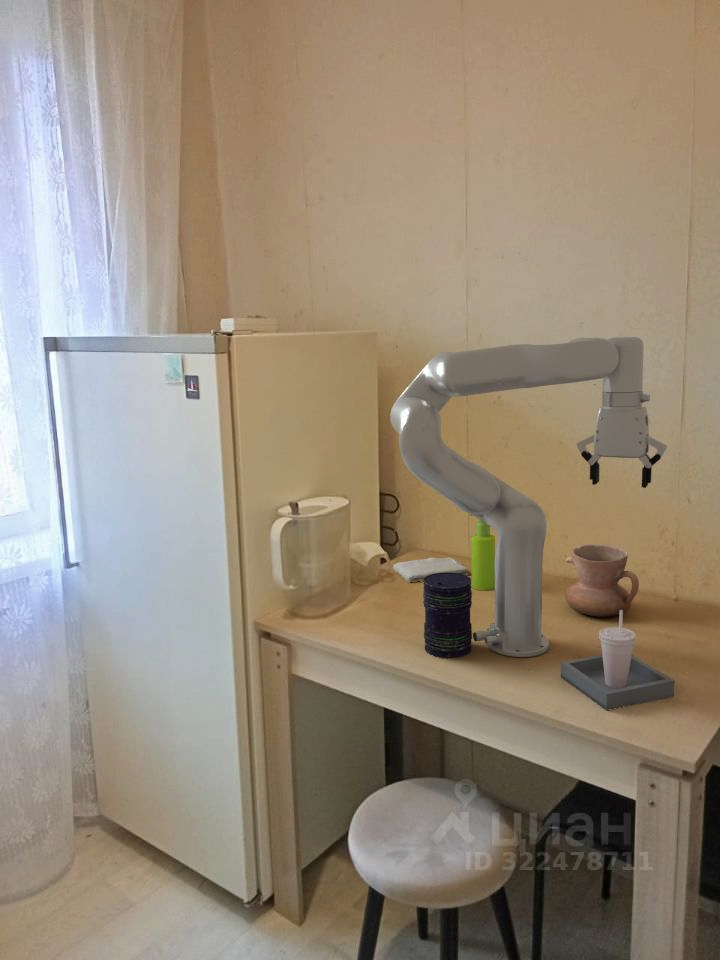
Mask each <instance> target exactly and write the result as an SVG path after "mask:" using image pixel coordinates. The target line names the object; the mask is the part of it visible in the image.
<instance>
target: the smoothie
mask: <svg viewBox="0 0 720 960" xmlns="http://www.w3.org/2000/svg"><path fill="white" fill-rule="evenodd" d="M618 615H619V621H618V626H607V627H604V628H601V629H600V630H599V631H598V633H599V635H598V639H599V640H600V645H601V655H602V656H603V665H604V674H605V683H606V684H607V685H608V686H610V687H614V688H622V687H625V686H626V685H627V679H628V674H629V668H630V662H631V656H632V655H633V651H634V643H636V641H637V635H636V633H635V632H634V631H633V630H631V629H628V628H626V627H623V617H624V612H623V610H620V614H618Z"/></svg>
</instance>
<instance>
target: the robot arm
mask: <svg viewBox="0 0 720 960" xmlns="http://www.w3.org/2000/svg"><path fill="white" fill-rule="evenodd" d="M643 372H644V342H643V340H642V339H641V338H640V337H636V336H620V337H618V336H617V337H610V338H607V339H605V338H600V337H578V338H574V339H572V340H569V341H567V342H566V343H565V342H564V343H556V344H528V343H527V344H526V343H522V344H518V343H517V344H509V345H508V344H507V345H503V346H496V347H487V348H480V349H473V350H472V349H471V350H464V351H445V352H444V351H443V352H440V353H438V354H436V355H435V356H434V357H432V358H431V359H430V360H429V361H428V362H427V364H426V365H425V366H424V367H423V368H422V370H421V371H420V372H419V373H418V374H417V375H416V377H415V378H414V379H413V380H412V381H411V383H409V385H408V386H407V387H406V388H405V389H404V391H403V392H402V393H401V394H400V396H399V397H398V398H397V399H396V401H395V402H394V403H393V406H392V407H391V410H390V414H389V415H390V417H389V419H390V424H391V426H392V428H393V430H394V431H395V432H396V433H397V434H398V445H399V446H398V447H399V451H400V456H401V458H402V460H403V464H404V465H405V466H406V468H407V470H408V471H409V472H410V473H411V474H412V475H413V476H414V477H415V478H417V479H418V480H419V481H421V482H422V483H424V485H426V486H428V487H429V488H431V489H432V490H433V491H435V492H436V493H438V494H440V495H441V496H442V497H444V498H446V499H447V500H449V502H451V503H452V504H453V505H454V506H455V507H457V508H458V509H460V510H461V511H463V512H465V513H466V514H468V513H470V514H472V515H473V516H472V517H475V518H476V519H478V520H479V521H480V520H481V521H483V522H484V523H486V524H487V525H489V526H490V528H492V529H493V531H495V533H497V539H496V541H497V542H496V545H495V588H494V622H492V623H491V622H490V625H489V628H486V630H480V631H474V632H472V639H473V641H474V642H482V641H484V643H485V644H486V645H487V646H488V647H489V649H490V650H492V651H493V652H495V653H497V654H499V655H503V656H506V657H514V658H530V657H536V656H539V655H543V654H544V653H546V652H547V651H548V650H549V648H550V640H549V638H548V637H547V636H546V635H544V634H543V633H542V631H543V630H542V623H543V619H542V618H543V559H544V548H545V541H546V537H547V536H546V535H547V528H548V527H547V526H548V525H547V518H546V515H545V513H544V510H543V509H542V507H541V506H540V505H539V504H538V503H537V501H535V500H534V499H532V498H531V497H529V496H528V495H526V494H524V493H521V491H519V490H518V489H516V488H514V487H512V486H511V485H510V484H508V483H506V482H504V481H503V480H502V479H500V478H499V477H497V476H495V474H492V473H491V472H490V471H488V470H487V469H486V468H484V467H482V466H481V465H480V464H478V463H476V462H474V461H469V460H468V459H467V458H465V457H463V456H462V455H460V454H459V453H457V452H456V451H455V450H453V449H452V448H451V447H449V446H447V445H446V444H445V442H444V441H443V440H444V439H443V438H442V432H441V431H442V418H441V415H440V412H441V410H442V409H444V407H445V406H446V405H447V403H448V402H450V400H451V399H452V397H453V398H454V397H455V398H459V397H468V396H476V395H482V394H489V393H494V392H503V391H511V390H512V391H513V390H519V389H520V390H521V389H532V388H538V387H544V386H553V385H554V386H556V385H567V384H574V383H579V382H588V381H594V380H595V381H596V380H601V379H602V383H601V384H602V386H601V387H602V389H601V390H602V392H601V393H602V394H601V397H602V398H601V406H599V407H598V410H597V415H596V420H595V426H594V434H593V435H591V436H589V437H587V438H585V439H583V440H580V441H578V442H577V443H576V447H577V449H578V452H580V455H581V457H582V458H583V459H584V460H585V461H586V463H587V464H588V465H589V480H591V481H592V482H591V483H592V485H593V486H595V485H597V484H598V483H600V463H599V462H598V461H599V460H600V459H601V458H602V457H603V458H617V459H618V458H621V459H622V458H623V459H638V460H639V461H640V462H641V463H642V465H643V467H642V468H641V488H642V489H646V488H647V487H649V486H648V485H649V484H651V483H652V468H653V466H654V465H656V463H658V462H659V461H660V460H661V459H662V457H663V456H664V454H665V452H666V450H667V449H668V446H667V444H665V443H663V442H661V441H660V440H658V439H656V438H654V437H653V436H652V437H651V436H650V428H649V416H648V410H647V406H643V404H644V403H646V402H650V401H651V395H650V394H646V393H645V392H644V390H643V382H644V381H643V378H644V377H643V376H644V373H643ZM592 443H593V452H594V454H592V453H591V452H590V451H588V449H587V446H588V445H590V444H592ZM650 446H651V447H653V448H655V449H656V450H657V451H656V452H655V454H654V456H652V457H651V456H649V454H648V453H649V449H650Z"/></svg>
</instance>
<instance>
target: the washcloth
mask: <svg viewBox="0 0 720 960" xmlns="http://www.w3.org/2000/svg"><path fill="white" fill-rule="evenodd" d="M392 569H393V571H394V573H396V572H397V573H398V574H397V573H396V574H397V575H399V574H400V575H399V576H401V578H402V579H403V578H404V579H403V580H404V581H406V583H409V582H413V583H418V582H417V581H421V582H424V578H425V577H426V576H428V575H431V574H435V573H446V572H448V573H459V574H463V575H467V576H468V567H466V566H464V565H462V564H461V563H460V562H459V561H458V560H456V559H454V558H452V557H443V558H442V557H441V558H440V557H439V558H438V557H437V558H436V557H429V558H424V559H413V560H408V561H399V562H397V563H395V564H393V566H392Z"/></svg>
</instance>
